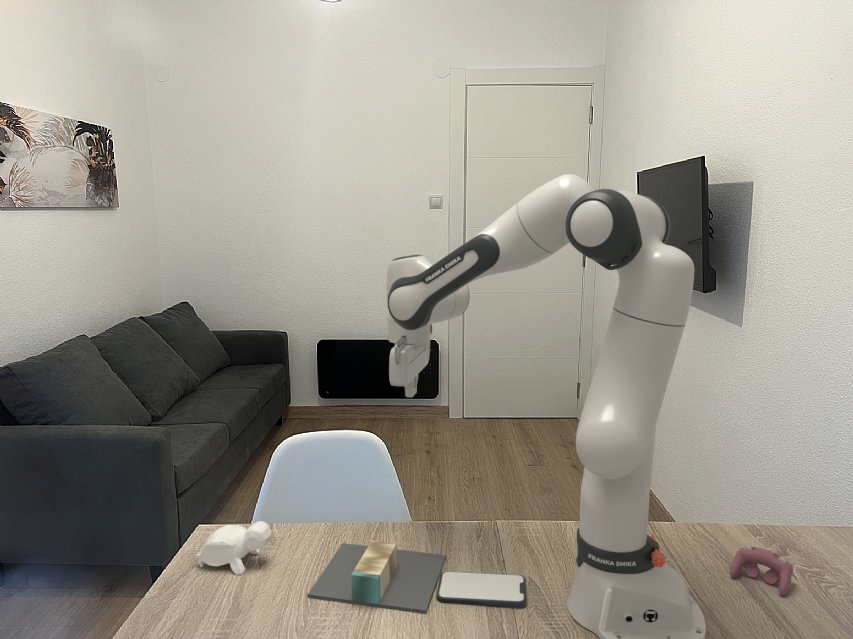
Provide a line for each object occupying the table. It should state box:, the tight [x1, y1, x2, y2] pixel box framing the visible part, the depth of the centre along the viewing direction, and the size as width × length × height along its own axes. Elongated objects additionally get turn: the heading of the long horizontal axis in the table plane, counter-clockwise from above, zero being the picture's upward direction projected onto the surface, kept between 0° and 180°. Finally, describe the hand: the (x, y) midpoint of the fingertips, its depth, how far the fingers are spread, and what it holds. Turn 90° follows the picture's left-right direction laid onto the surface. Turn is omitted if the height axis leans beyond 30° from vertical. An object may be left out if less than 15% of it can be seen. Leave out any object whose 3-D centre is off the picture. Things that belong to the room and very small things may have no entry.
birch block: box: [351, 539, 398, 604], centre depth 117 cm, size 5×5×12 cm
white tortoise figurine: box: [195, 520, 273, 576], centre depth 125 cm, size 9×8×15 cm
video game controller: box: [729, 545, 794, 597], centre depth 118 cm, size 10×5×7 cm, turn 48°
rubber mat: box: [307, 542, 447, 614], centre depth 121 cm, size 22×18×1 cm
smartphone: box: [436, 571, 527, 609], centre depth 116 cm, size 9×2×16 cm
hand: (411, 395), depth 136 cm, fingers closed
